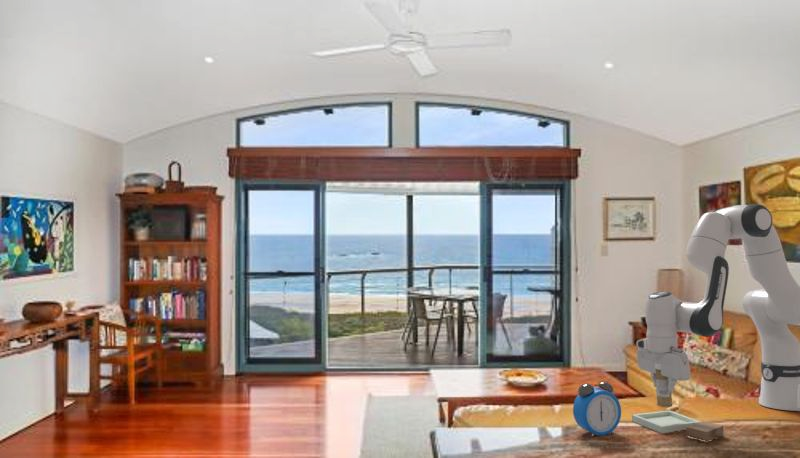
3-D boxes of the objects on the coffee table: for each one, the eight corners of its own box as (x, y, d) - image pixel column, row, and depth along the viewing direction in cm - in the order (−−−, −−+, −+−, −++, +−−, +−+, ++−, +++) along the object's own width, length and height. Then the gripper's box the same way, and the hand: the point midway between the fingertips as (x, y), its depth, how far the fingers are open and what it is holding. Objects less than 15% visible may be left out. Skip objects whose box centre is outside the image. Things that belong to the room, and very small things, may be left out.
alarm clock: (584, 439, 177) (582, 387, 177) (572, 433, 183) (570, 382, 183) (623, 433, 181) (620, 382, 181) (610, 428, 187) (608, 378, 187)
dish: (669, 416, 197) (669, 410, 197) (701, 428, 183) (701, 421, 183) (632, 421, 193) (631, 414, 193) (661, 433, 180) (661, 426, 180)
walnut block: (703, 431, 180) (702, 421, 180) (723, 436, 175) (722, 425, 175) (686, 437, 175) (685, 427, 175) (707, 442, 170) (706, 432, 170)
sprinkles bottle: (674, 405, 188) (673, 362, 189) (668, 408, 185) (666, 364, 186) (660, 403, 192) (658, 360, 192) (653, 406, 188) (652, 362, 189)
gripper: (694, 349, 180) (697, 396, 179) (649, 339, 199) (651, 382, 199) (676, 350, 178) (679, 398, 178) (632, 340, 198) (634, 383, 197)
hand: (664, 389), depth 188 cm, fingers closed on sprinkles bottle, 4 cm apart
